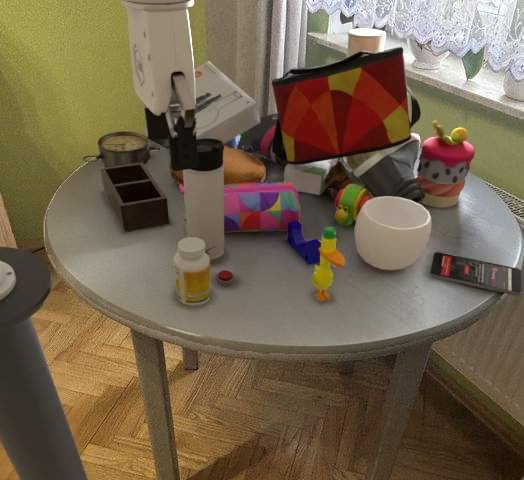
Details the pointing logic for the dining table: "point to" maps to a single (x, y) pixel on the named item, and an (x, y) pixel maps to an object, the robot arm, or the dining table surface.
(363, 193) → the green red striped toy
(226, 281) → the push button
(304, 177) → the ink box
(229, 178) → the pancake
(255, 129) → the dark grey pouch
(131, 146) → the alarm clock
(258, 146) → the shoe
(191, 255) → the supplement bottle
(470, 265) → the smartphone
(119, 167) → the rack
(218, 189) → the travel mug
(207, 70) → the skincare box
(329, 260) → the toy figure
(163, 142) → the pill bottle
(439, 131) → the cake
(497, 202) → the dining table surface
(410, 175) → the sneaker
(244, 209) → the pencil case
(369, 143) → the bag
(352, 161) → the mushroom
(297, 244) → the cable holder
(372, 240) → the cup
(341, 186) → the artifact
